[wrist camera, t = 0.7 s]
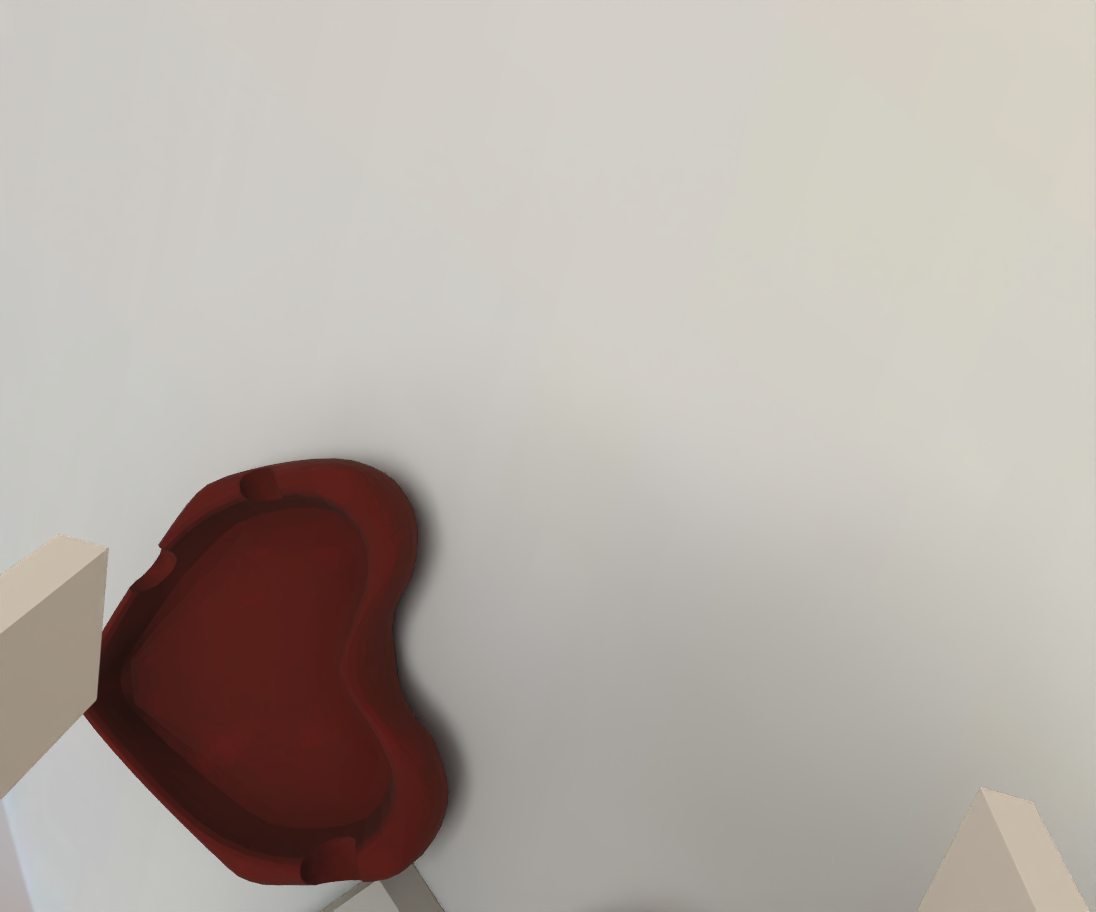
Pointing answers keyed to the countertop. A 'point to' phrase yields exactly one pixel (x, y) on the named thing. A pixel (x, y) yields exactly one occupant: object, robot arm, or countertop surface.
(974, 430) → the countertop surface
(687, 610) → the countertop surface
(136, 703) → the ashtray
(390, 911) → the tray
